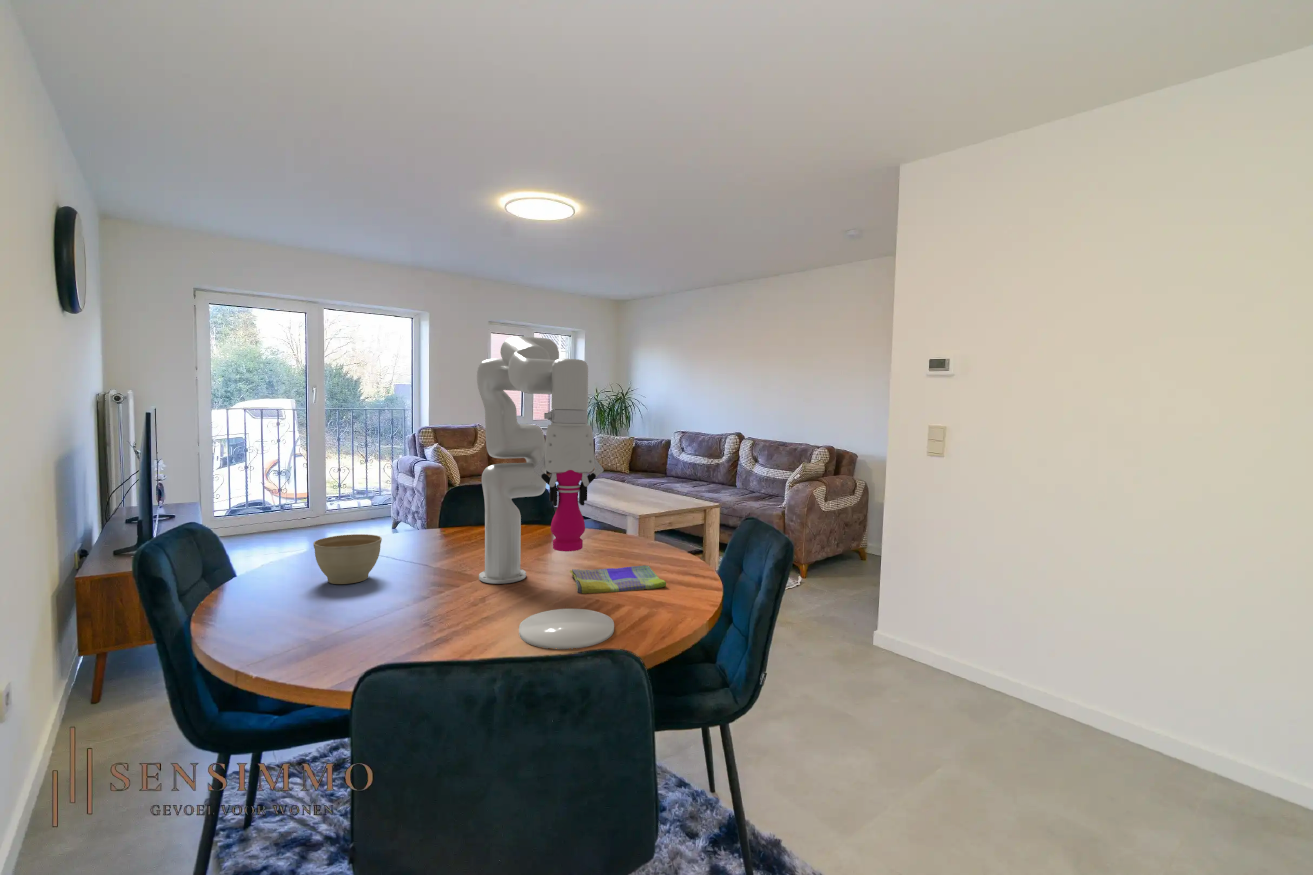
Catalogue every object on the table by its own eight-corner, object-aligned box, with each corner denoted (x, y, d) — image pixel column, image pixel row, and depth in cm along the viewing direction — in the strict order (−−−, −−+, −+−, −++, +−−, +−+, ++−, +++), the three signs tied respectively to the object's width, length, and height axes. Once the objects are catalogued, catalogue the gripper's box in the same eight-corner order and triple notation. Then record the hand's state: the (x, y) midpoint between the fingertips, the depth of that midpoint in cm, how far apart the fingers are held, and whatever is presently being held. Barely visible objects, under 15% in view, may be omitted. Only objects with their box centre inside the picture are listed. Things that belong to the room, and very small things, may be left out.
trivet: (517, 617, 133) (517, 611, 133) (605, 610, 138) (605, 605, 138) (520, 653, 114) (520, 647, 114) (622, 644, 119) (622, 638, 119)
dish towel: (667, 591, 156) (667, 580, 156) (574, 596, 150) (575, 585, 150) (652, 572, 173) (653, 563, 173) (569, 576, 167) (569, 567, 167)
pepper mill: (556, 553, 120) (557, 455, 119) (546, 545, 127) (547, 452, 125) (589, 550, 123) (591, 455, 122) (578, 542, 130) (579, 452, 129)
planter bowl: (394, 578, 161) (394, 538, 160) (335, 593, 147) (334, 549, 147) (360, 568, 170) (360, 530, 169) (301, 581, 156) (301, 541, 155)
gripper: (528, 418, 118) (527, 508, 119) (612, 419, 122) (611, 506, 123) (526, 417, 125) (526, 502, 126) (606, 418, 129) (605, 501, 130)
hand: (568, 503), depth 125 cm, fingers closed on pepper mill, 5 cm apart
